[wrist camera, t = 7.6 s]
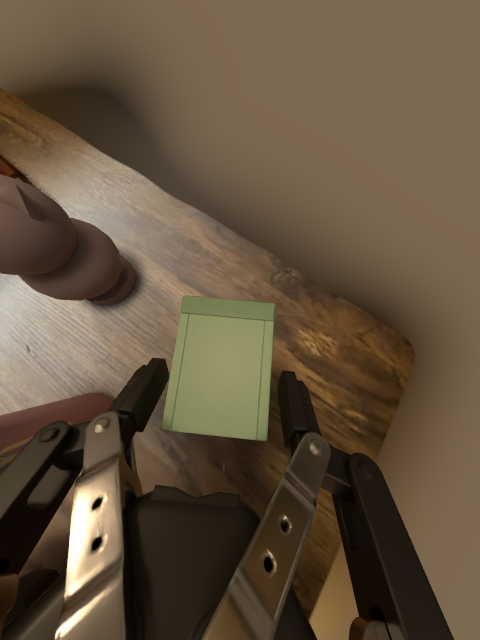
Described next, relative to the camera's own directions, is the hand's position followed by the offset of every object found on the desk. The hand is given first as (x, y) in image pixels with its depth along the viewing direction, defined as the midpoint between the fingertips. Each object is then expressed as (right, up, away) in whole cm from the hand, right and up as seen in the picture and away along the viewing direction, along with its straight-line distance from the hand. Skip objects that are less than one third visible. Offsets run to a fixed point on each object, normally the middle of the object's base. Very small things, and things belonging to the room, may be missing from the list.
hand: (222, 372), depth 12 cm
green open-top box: (0, -1, +7) cm, 7 cm away
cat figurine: (-15, +8, +9) cm, 19 cm away
